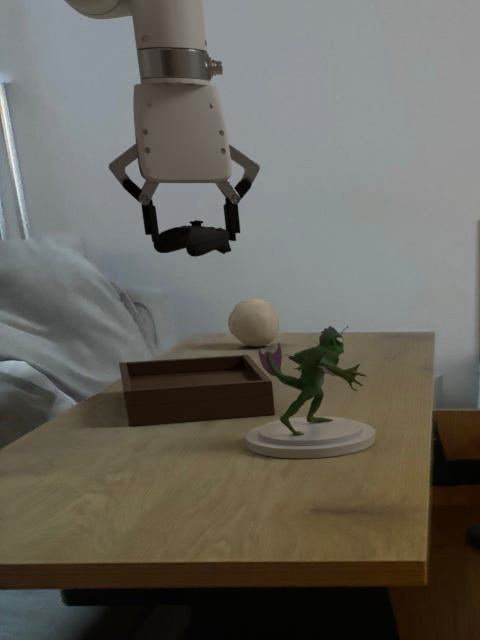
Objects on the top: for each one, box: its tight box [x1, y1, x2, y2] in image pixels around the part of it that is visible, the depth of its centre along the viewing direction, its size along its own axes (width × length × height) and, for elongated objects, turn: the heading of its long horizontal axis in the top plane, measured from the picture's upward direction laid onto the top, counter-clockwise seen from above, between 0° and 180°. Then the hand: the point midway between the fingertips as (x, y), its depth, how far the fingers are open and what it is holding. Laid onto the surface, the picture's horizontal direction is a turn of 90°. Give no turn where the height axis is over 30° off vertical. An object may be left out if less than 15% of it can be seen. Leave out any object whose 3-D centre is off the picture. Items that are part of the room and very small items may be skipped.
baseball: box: [227, 297, 280, 348], centre depth 143 cm, size 7×7×7 cm
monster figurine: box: [245, 325, 376, 459], centre depth 90 cm, size 12×12×10 cm
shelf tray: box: [118, 354, 276, 427], centre depth 108 cm, size 15×18×4 cm
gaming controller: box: [152, 219, 232, 258], centre depth 117 cm, size 10×5×6 cm
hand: (194, 240), depth 116 cm, fingers closed on gaming controller, 8 cm apart
